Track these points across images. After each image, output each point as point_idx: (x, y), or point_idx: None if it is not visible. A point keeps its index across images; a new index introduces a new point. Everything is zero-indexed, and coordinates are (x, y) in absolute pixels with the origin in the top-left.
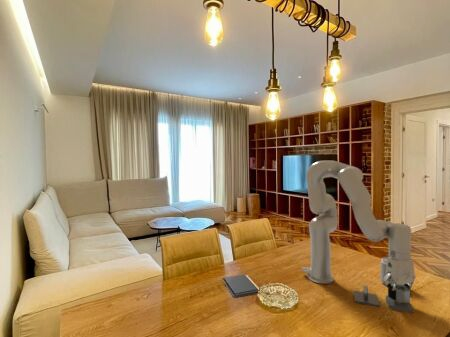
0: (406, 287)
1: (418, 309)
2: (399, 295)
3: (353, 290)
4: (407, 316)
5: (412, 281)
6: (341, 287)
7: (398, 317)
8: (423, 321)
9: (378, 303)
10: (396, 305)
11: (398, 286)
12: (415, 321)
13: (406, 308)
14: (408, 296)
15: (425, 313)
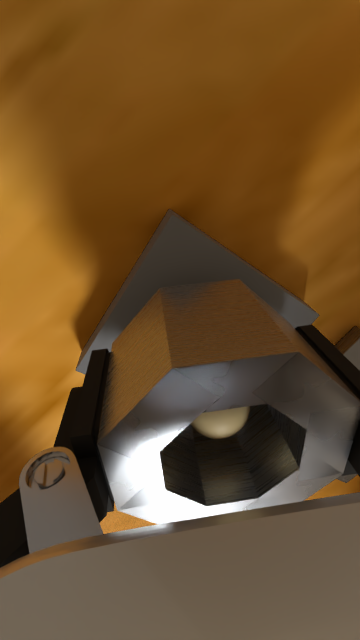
0: (133, 454)
1: (66, 254)
2: (301, 343)
3: (346, 482)
4: (265, 175)
5: (28, 598)
6: None
7: (355, 178)
8: (188, 53)
9: (345, 355)
10: (268, 300)
11: (190, 484)
12: (269, 77)
13: (219, 246)
14: (192, 315)
15: (47, 182)
